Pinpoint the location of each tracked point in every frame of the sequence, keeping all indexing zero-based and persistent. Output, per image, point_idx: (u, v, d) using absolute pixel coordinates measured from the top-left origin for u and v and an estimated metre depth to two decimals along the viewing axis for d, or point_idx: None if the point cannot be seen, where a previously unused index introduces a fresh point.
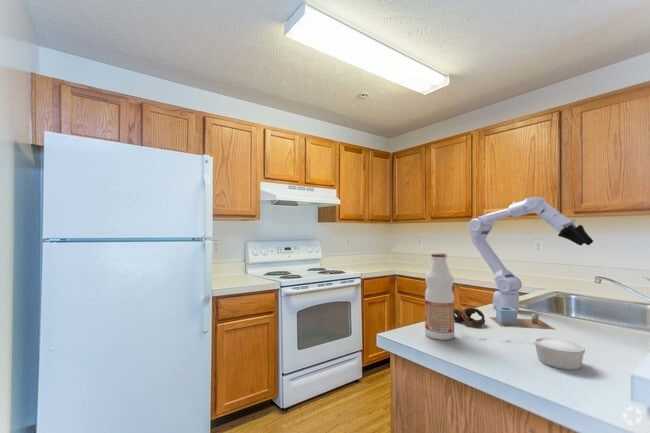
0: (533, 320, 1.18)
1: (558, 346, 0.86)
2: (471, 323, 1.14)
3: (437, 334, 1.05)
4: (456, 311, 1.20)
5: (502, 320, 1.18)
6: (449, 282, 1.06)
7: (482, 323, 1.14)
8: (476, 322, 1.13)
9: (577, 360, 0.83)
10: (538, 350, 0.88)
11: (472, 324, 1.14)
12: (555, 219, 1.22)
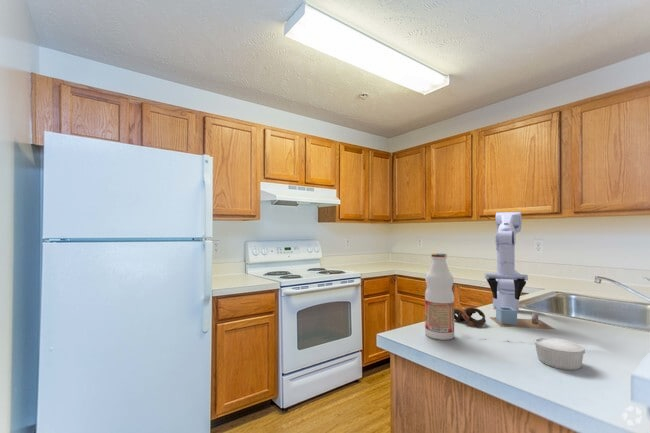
0: (533, 320, 1.18)
1: (558, 346, 0.86)
2: (472, 323, 1.14)
3: (437, 334, 1.05)
4: (457, 311, 1.20)
5: (502, 320, 1.18)
6: (449, 282, 1.06)
7: (483, 323, 1.15)
8: (477, 322, 1.14)
9: (577, 360, 0.83)
10: (538, 350, 0.88)
11: (473, 324, 1.14)
12: (498, 265, 1.21)
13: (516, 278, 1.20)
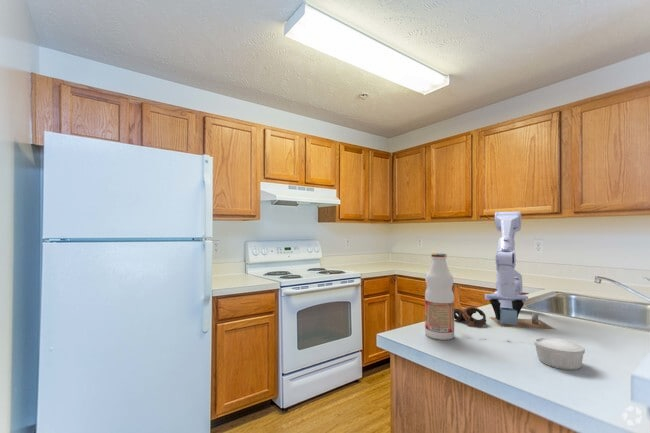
0: (533, 320, 1.18)
1: (558, 346, 0.86)
2: (472, 323, 1.15)
3: (437, 334, 1.05)
4: (457, 311, 1.21)
5: (502, 320, 1.18)
6: (449, 282, 1.06)
7: (483, 322, 1.15)
8: (477, 322, 1.14)
9: (577, 359, 0.83)
10: (538, 350, 0.88)
11: (473, 323, 1.14)
12: (499, 286, 1.20)
13: (516, 299, 1.19)
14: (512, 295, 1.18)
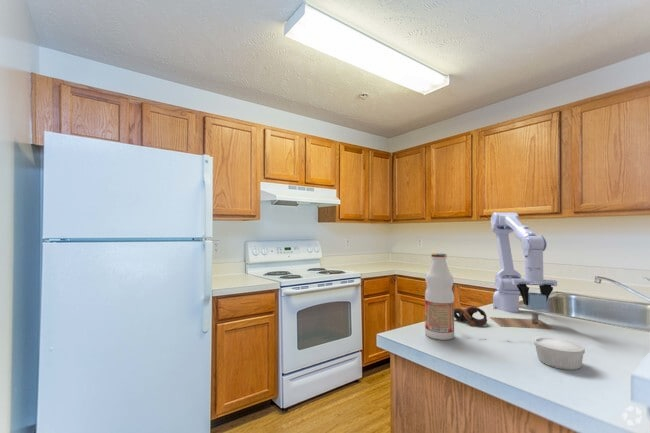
0: (533, 320, 1.18)
1: (558, 346, 0.86)
2: (473, 322, 1.15)
3: (437, 334, 1.05)
4: (458, 310, 1.21)
5: (531, 305, 1.16)
6: (449, 282, 1.06)
7: (484, 322, 1.15)
8: (478, 321, 1.15)
9: (577, 359, 0.83)
10: (538, 350, 0.88)
11: (474, 323, 1.15)
12: (527, 270, 1.19)
13: (545, 284, 1.18)
14: (541, 280, 1.16)
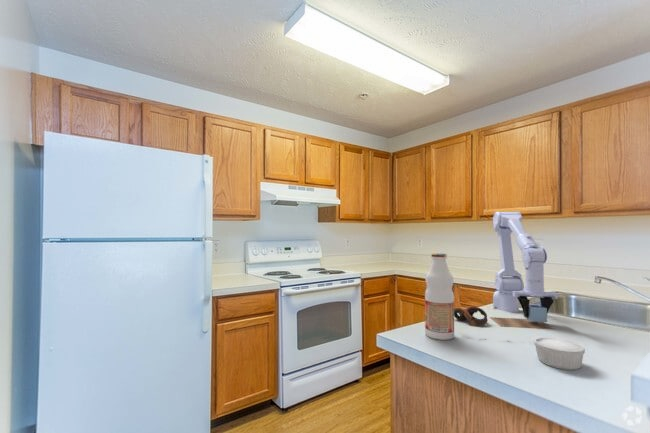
0: None
1: (558, 346, 0.86)
2: (474, 322, 1.15)
3: (437, 334, 1.05)
4: (459, 310, 1.21)
5: (531, 317, 1.16)
6: (449, 282, 1.06)
7: (485, 322, 1.16)
8: (479, 321, 1.15)
9: (577, 359, 0.83)
10: (538, 350, 0.88)
11: (475, 323, 1.15)
12: (527, 283, 1.19)
13: (545, 296, 1.18)
14: (541, 292, 1.16)
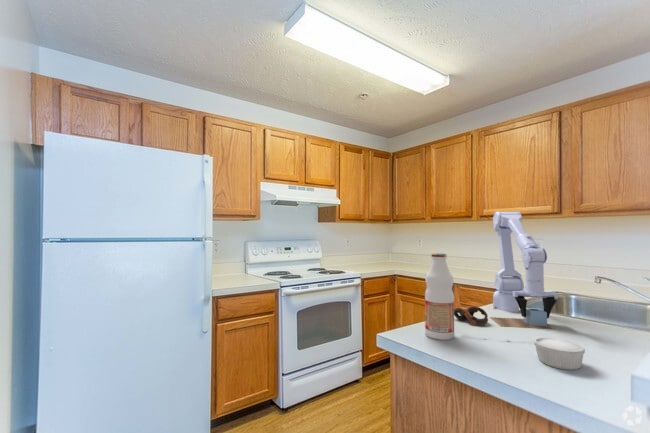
0: None
1: (558, 346, 0.86)
2: (475, 322, 1.16)
3: (437, 334, 1.05)
4: (459, 310, 1.22)
5: (531, 322, 1.16)
6: (449, 282, 1.06)
7: (485, 322, 1.16)
8: (480, 321, 1.15)
9: (577, 359, 0.83)
10: (538, 350, 0.88)
11: (476, 323, 1.15)
12: (527, 283, 1.19)
13: (545, 296, 1.18)
14: (541, 292, 1.16)
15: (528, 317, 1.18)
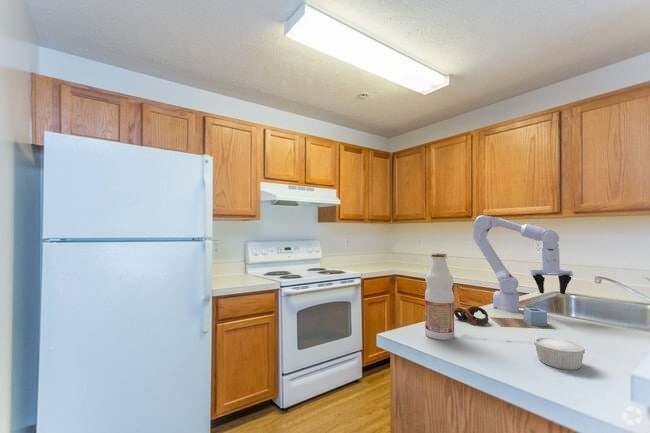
0: None
1: (558, 346, 0.86)
2: (475, 321, 1.16)
3: (437, 334, 1.05)
4: (460, 310, 1.22)
5: (531, 322, 1.16)
6: (449, 282, 1.06)
7: (486, 321, 1.16)
8: (480, 320, 1.15)
9: (577, 359, 0.83)
10: (538, 350, 0.88)
11: (476, 322, 1.16)
12: (544, 262, 1.30)
13: (561, 274, 1.29)
14: (558, 270, 1.27)
15: (528, 317, 1.18)
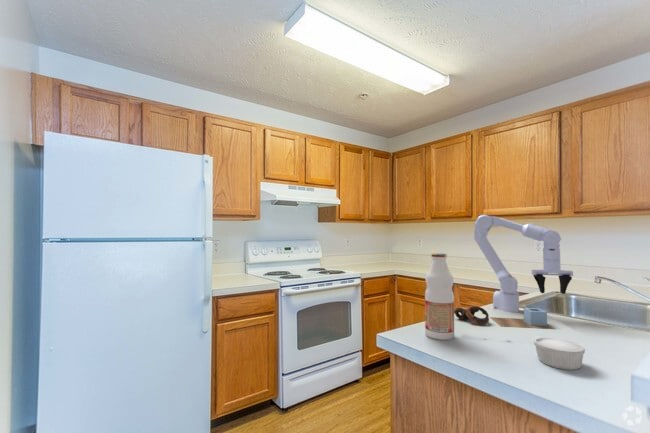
0: None
1: (558, 346, 0.86)
2: (476, 321, 1.16)
3: (437, 334, 1.05)
4: (460, 310, 1.22)
5: (531, 322, 1.16)
6: (449, 282, 1.06)
7: (486, 321, 1.17)
8: (481, 320, 1.16)
9: (577, 359, 0.83)
10: (538, 350, 0.88)
11: (477, 322, 1.16)
12: (545, 262, 1.31)
13: (562, 274, 1.30)
14: (558, 270, 1.28)
15: (528, 317, 1.18)
